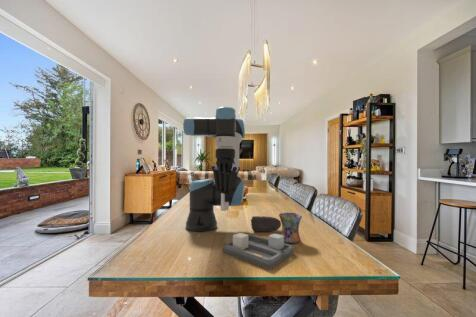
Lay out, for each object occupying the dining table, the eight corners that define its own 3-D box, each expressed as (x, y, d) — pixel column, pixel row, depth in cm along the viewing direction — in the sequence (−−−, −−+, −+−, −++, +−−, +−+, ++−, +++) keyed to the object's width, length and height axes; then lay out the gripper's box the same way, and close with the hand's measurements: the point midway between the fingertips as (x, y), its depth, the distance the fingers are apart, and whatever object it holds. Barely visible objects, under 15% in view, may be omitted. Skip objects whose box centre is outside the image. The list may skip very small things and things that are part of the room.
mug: (303, 245, 92) (303, 218, 92) (279, 244, 92) (280, 217, 92) (298, 235, 104) (298, 211, 104) (277, 234, 104) (277, 210, 104)
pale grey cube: (268, 248, 84) (268, 236, 84) (274, 245, 87) (274, 233, 87) (278, 251, 81) (278, 238, 81) (283, 247, 84) (283, 235, 84)
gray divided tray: (222, 251, 84) (222, 244, 84) (249, 240, 97) (249, 233, 97) (269, 269, 72) (269, 260, 71) (293, 253, 84) (294, 245, 84)
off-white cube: (232, 247, 84) (232, 235, 84) (239, 244, 87) (239, 232, 87) (241, 250, 81) (241, 237, 81) (248, 247, 84) (248, 235, 84)
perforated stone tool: (279, 228, 113) (279, 214, 113) (282, 232, 108) (283, 217, 108) (248, 229, 111) (249, 215, 111) (251, 233, 106) (251, 218, 106)
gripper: (206, 148, 90) (205, 209, 90) (231, 147, 82) (230, 214, 82) (220, 149, 96) (219, 206, 96) (244, 148, 88) (244, 211, 88)
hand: (224, 210), depth 89 cm, fingers closed
